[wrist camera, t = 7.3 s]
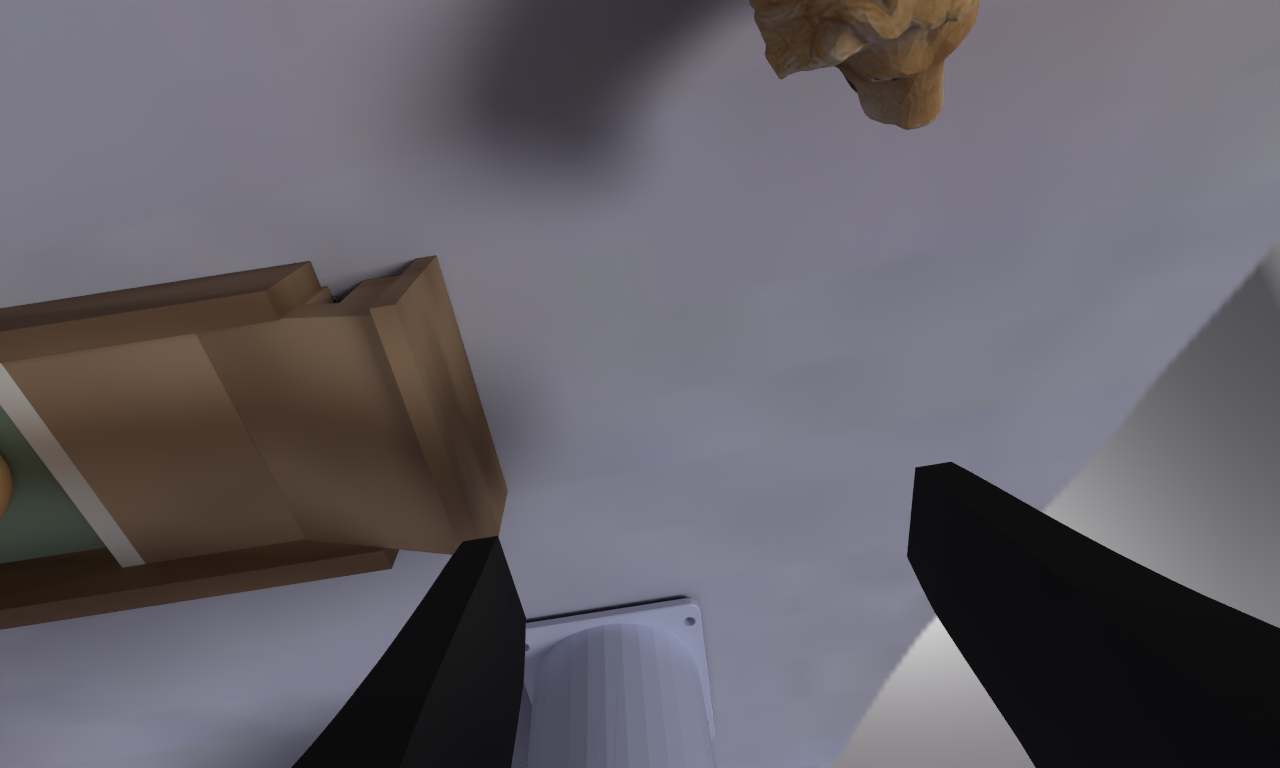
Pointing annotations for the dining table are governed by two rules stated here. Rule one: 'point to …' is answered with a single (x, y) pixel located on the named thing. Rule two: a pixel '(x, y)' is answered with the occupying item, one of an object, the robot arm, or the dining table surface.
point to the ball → (5, 486)
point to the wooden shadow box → (234, 439)
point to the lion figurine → (871, 48)
